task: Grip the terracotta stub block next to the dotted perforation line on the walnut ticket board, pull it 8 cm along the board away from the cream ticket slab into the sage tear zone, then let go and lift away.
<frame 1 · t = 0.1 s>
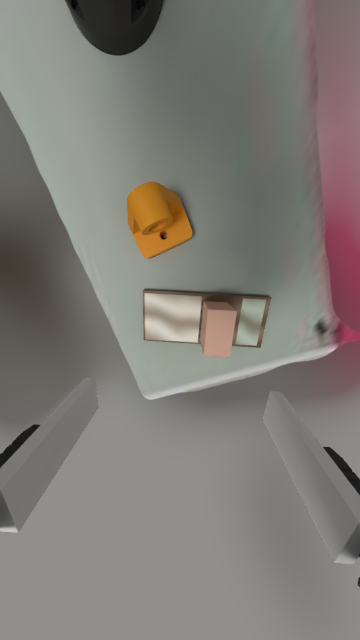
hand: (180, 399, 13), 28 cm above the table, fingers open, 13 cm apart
ticket board: (203, 318, 40), on the table
stub: (215, 326, 34), point 6 cm above the table, slide at 0.0 cm
bracket: (163, 232, 35), on the table
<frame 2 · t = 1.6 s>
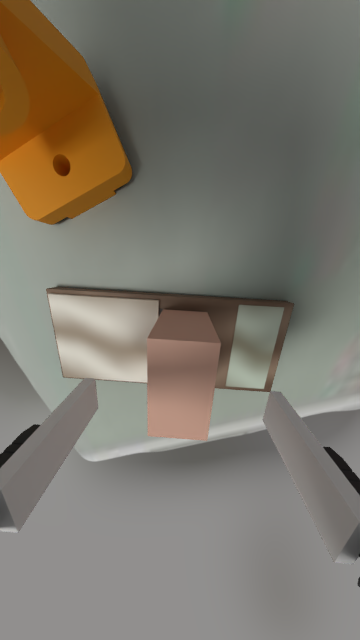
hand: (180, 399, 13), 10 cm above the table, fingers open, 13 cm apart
ticket board: (167, 339, 22), on the table
stub: (181, 365, 16), point 6 cm above the table, slide at 0.0 cm
bracket: (75, 169, 17), on the table
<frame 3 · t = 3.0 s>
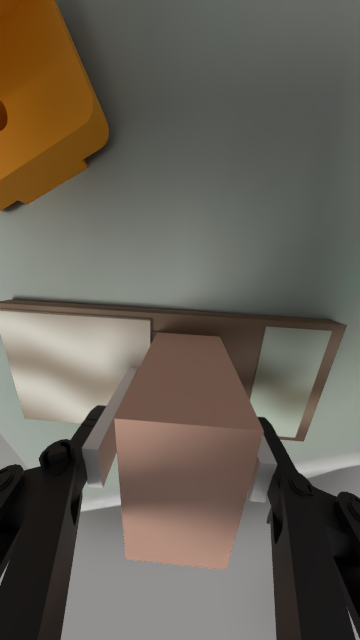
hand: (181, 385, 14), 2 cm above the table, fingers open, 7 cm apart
ticket board: (164, 368, 16), on the table
stub: (183, 422, 11), point 6 cm above the table, slide at 0.0 cm
bracket: (29, 131, 12), on the table
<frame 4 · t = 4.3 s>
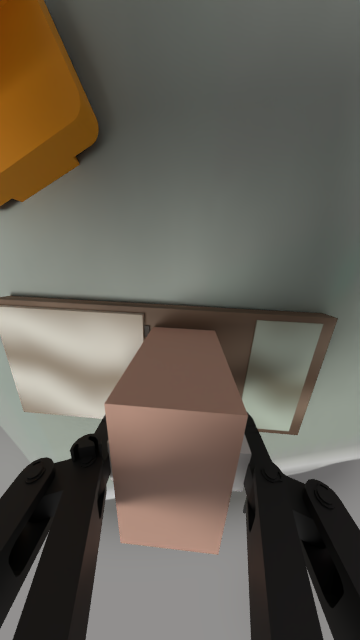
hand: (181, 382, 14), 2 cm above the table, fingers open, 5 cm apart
ticket board: (159, 363, 17), on the table
stub: (177, 414, 11), point 6 cm above the table, slide at 0.3 cm, touching gripper
bracket: (22, 130, 12), on the table
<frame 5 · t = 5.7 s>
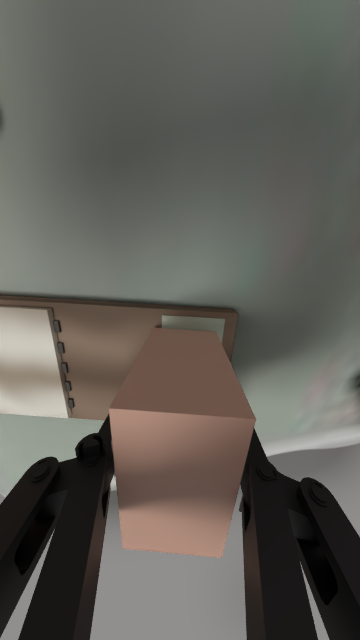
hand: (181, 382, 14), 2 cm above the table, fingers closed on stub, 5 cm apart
ticket board: (83, 359, 17), on the table
stub: (179, 416, 11), point 6 cm above the table, slide at 7.9 cm, touching gripper
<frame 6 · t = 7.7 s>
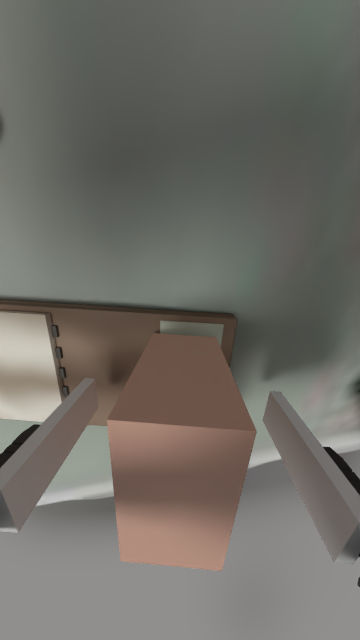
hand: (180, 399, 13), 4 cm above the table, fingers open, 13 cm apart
ticket board: (81, 363, 16), on the table
stub: (179, 423, 11), point 6 cm above the table, slide at 8.0 cm
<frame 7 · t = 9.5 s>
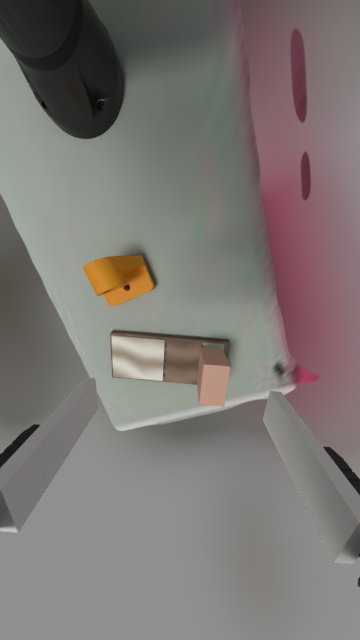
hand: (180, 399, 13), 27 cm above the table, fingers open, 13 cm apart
ticket board: (168, 357, 42), on the table
stub: (211, 374, 36), point 6 cm above the table, slide at 8.0 cm
bracket: (129, 281, 38), on the table
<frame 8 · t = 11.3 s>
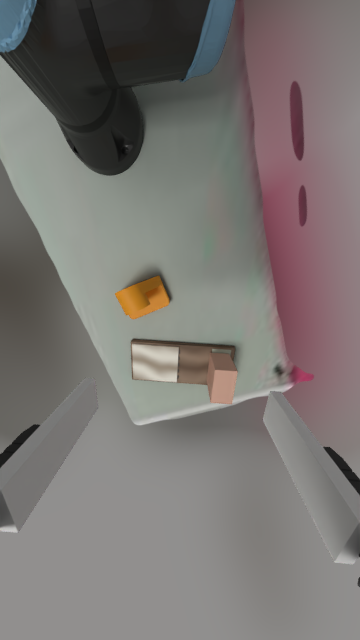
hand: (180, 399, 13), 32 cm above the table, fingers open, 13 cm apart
ticket board: (181, 361, 48), on the table
stub: (220, 376, 42), point 6 cm above the table, slide at 8.0 cm
bracket: (146, 297, 43), on the table
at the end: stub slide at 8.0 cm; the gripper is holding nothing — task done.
